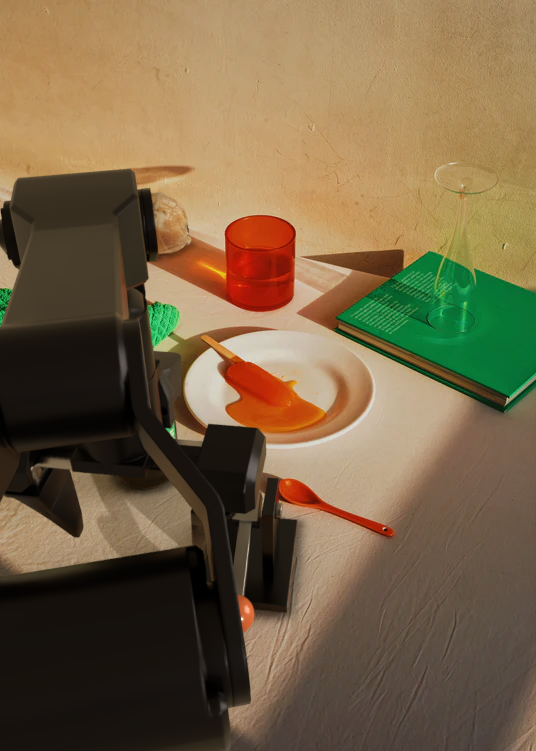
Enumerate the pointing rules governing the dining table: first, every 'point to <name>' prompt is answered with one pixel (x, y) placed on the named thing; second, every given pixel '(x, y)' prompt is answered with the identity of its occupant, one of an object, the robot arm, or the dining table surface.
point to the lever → (245, 558)
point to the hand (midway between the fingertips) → (138, 539)
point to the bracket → (267, 554)
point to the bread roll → (170, 224)
